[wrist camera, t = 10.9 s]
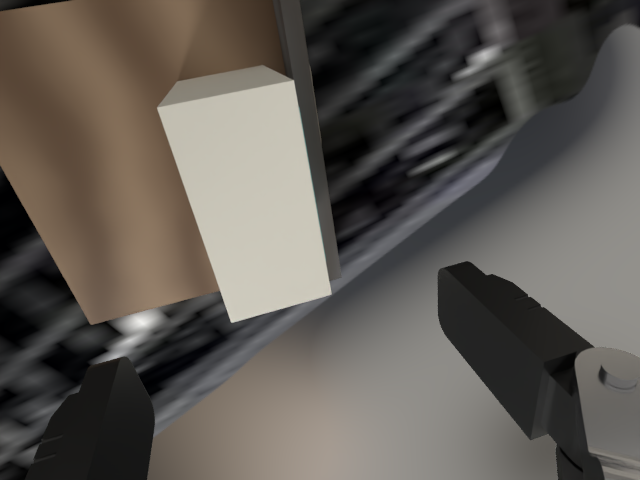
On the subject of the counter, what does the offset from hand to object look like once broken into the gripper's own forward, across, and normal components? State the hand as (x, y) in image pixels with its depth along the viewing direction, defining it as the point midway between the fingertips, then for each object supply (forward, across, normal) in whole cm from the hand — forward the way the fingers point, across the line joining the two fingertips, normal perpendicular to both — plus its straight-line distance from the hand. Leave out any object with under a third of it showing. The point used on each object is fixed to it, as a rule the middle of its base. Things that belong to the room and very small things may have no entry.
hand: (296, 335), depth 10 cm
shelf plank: (+19, +4, 0) cm, 20 cm away
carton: (+18, 0, 0) cm, 18 cm away
